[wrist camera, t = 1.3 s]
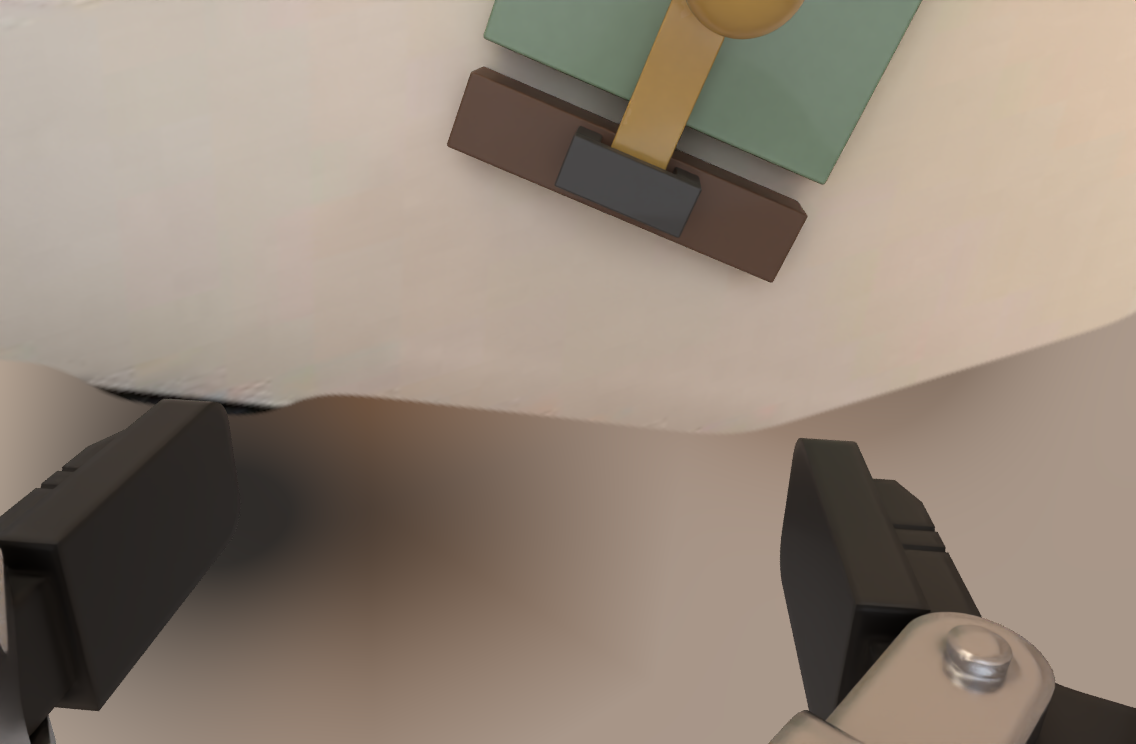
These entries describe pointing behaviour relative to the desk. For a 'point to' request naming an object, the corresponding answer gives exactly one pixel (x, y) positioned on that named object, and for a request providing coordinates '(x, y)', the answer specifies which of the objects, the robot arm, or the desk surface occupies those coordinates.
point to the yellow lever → (687, 68)
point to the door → (723, 111)
